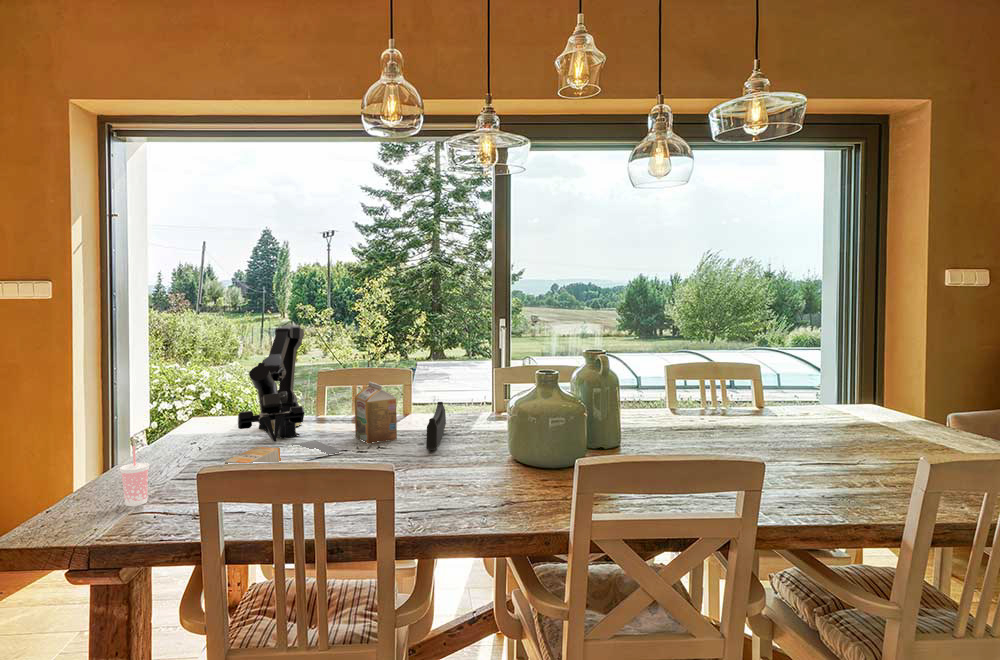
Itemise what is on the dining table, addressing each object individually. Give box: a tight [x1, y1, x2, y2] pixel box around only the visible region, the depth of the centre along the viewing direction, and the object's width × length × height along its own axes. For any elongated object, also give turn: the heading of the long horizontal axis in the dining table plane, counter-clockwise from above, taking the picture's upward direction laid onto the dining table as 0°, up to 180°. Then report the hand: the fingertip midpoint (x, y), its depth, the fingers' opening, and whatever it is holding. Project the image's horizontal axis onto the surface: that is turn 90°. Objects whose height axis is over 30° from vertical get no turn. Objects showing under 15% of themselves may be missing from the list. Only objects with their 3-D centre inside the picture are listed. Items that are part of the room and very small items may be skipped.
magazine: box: [425, 401, 447, 451], centre depth 204 cm, size 17×3×30 cm
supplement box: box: [223, 446, 281, 465], centre depth 171 cm, size 8×5×13 cm
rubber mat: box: [291, 439, 344, 455], centre depth 188 cm, size 19×25×1 cm
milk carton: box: [354, 381, 398, 444], centre depth 207 cm, size 11×11×19 cm
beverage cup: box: [119, 445, 150, 507], centre depth 146 cm, size 6×6×14 cm
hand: (274, 441), depth 180 cm, fingers closed
